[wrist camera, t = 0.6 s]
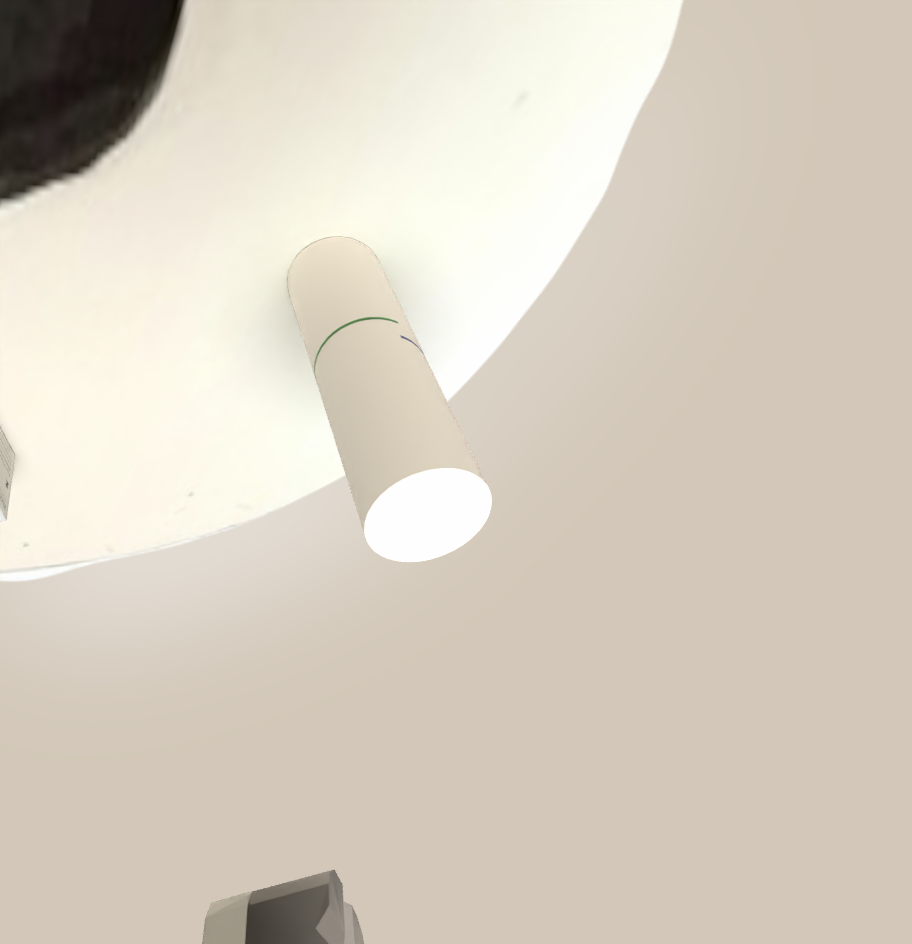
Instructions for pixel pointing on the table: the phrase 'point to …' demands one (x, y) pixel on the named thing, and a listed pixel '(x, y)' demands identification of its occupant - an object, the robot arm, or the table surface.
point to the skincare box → (5, 475)
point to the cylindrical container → (385, 407)
